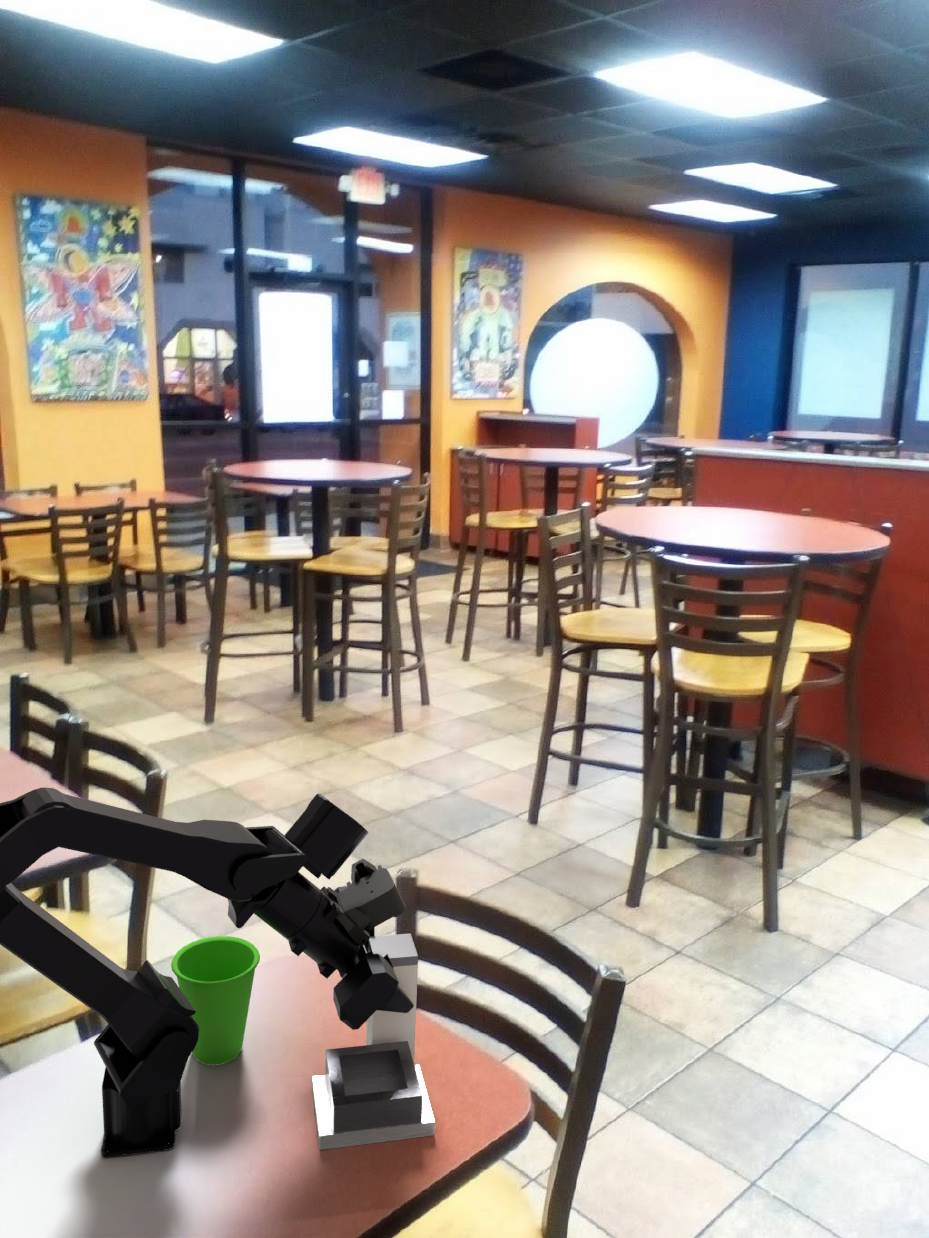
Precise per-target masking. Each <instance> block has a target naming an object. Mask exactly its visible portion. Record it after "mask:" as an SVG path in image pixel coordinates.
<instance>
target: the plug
mask: <svg viewBox="0 0 929 1238" xmlns="http://www.w3.org/2000/svg"><path fill="white" fill-rule="evenodd" d="M368 952H373V953H374V954H379V955H381V956H382V957H383V958H384V957H385V956H386V955H387V954H388V956H389V959H390V961H391V963H392V965H393V968H394V972H395V975H396V977H397V979H398V981H399V984H398V986H399V987H400V988H401V989H402V991H403V992H404V993H405V994H406V995H407V997H408V998H409V999H410V1000H411V1002H412V1003H413V1005H414V1007H413V1008H412V1009H411V1010H410V1011H409V1012H408V1013H400V1012H390V1011H381V1010H376V1011H375V1012H374V1013H373V1014H372V1015H371V1017H370V1018H369V1019H368V1020H367V1021H366V1022H365V1023H366V1025H365V1026H366V1029H365V1030H366V1031H365V1043H366V1044H365V1045H373V1044H383V1043H392V1042H402V1041H408V1044H409V1048H410V1051H411V1055H412V1059H413V1062H414V1063H415V1050H416V1049H415V1047H416V1019H417V1018H416V1017H417V992H418V991H417V989H418V966H419V965H418V963H419V955H418V952H417V948H416V946H415V943H414V940H413V937H412V934H411V933H399V934H389V935H388V934H387V935H375V936H372V937H371V938H370V939H369V940H368Z"/></svg>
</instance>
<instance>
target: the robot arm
mask: <svg viewBox="0 0 929 1238" xmlns="http://www.w3.org/2000/svg"><path fill="white" fill-rule="evenodd" d="M368 834H369V831H368V830H367V829H366V828H365V827H364V826H363V825H362V824H361V823H359V821H357V820H356V819H354V817H352V816H351V815H349V814H348V813H346V812H345V811H344V810H342V809H341V808H340V807H339V806H337V805H336V804H334V803H332V802H331V801H330V800H329V799H327V797H325V796H324V795H322V794H321V793H317V794H315V795H314V797H313V798H312V799H311V800H310V802H309V803H308V804H307V806H306V809H305V810H304V811H303V812H302V814H301V815H300V816H299V817H298V818H297V820H296V821H295V822H294V823H293V824H292V825H291V826H290V827H289V829H288V830H287V832H286V833H285V834H283V832H281V831H280V830H279V829H277V827H275V826H274V825H264V826H248V827H245V826H244V825H243V824H241V823H239V822H237V821H233V820H232V821H231V820H219V819H218V820H214V819H201V820H196V821H190V822H182V821H181V822H180V821H173V820H170V819H166V818H163V817H158V816H154V815H150V814H145V813H141V812H137V811H134V810H129V809H126V808H121V807H118V806H114V805H109V804H105V803H101V802H97V801H94V800H90V799H86V798H82V797H78V796H74V795H70V794H66V793H63V792H62V791H60V790H59V789H56V788H54V787H38V788H35V789H33V790H30V791H28V792H26V793H24V794H22V795H20V796H18V797H16V798H14V799H11V800H6V801H3V802H0V946H1V947H2V948H4V949H6V950H7V951H8V952H9V953H11V954H13V955H14V956H16V957H17V958H18V959H20V960H21V961H23V963H25V964H27V965H28V966H30V967H31V968H32V969H34V970H35V971H37V972H38V973H39V974H41V975H42V976H44V977H45V978H46V979H48V980H50V982H52V983H54V984H55V985H56V986H58V987H59V988H60V989H62V990H64V992H66V993H67V994H69V995H71V996H72V997H73V998H75V999H76V1000H77V1001H79V1002H80V1003H82V1004H83V1005H85V1006H86V1007H87V1008H89V1009H90V1010H92V1011H93V1012H94V1013H96V1014H98V1015H99V1016H100V1017H102V1019H103V1020H104V1021H105V1022H106V1023H107V1025H106V1026H105V1027H104V1028H103V1029H102V1031H101V1032H100V1033H99V1034H98V1036H97V1037H96V1038H95V1039H94V1041H93V1045H94V1047H95V1049H96V1051H97V1052H98V1054H99V1056H100V1058H101V1060H102V1062H103V1064H104V1067H105V1069H104V1073H103V1074H104V1075H103V1079H102V1083H101V1084H102V1085H101V1097H102V1098H101V1100H102V1120H103V1122H102V1123H103V1137H102V1143H101V1149H100V1154H101V1155H100V1156H101V1157H102V1158H112V1157H121V1156H130V1155H136V1154H145V1153H153V1152H154V1153H155V1152H161V1151H169V1150H172V1149H173V1148H175V1143H176V1130H179V1129H180V1128H181V1125H182V1078H183V1075H184V1072H185V1068H186V1066H187V1063H188V1060H189V1057H190V1056H191V1054H193V1050H194V1049H195V1047H196V1044H197V1041H198V1036H199V1032H200V1029H199V1027H198V1024H197V1023H196V1021H195V1020H194V1019H193V1017H192V1015H194V1014H195V1013H196V1011H195V1009H194V1008H193V1007H192V1005H191V1004H190V1002H189V1001H188V1000H187V998H186V997H185V995H184V994H183V993H182V991H181V990H180V988H179V985H178V983H176V981H175V980H174V978H173V977H172V976H169V975H164V974H162V973H161V972H159V971H158V970H157V969H155V967H154V965H152V963H151V962H150V961H149V960H148V959H146V960H145V961H144V962H143V964H142V965H141V966H140V968H139V969H138V971H136V970H129V969H125V968H123V967H121V966H120V965H118V964H117V963H115V962H114V961H113V960H111V959H110V958H109V957H108V956H107V955H105V954H104V953H102V952H101V951H100V950H99V949H97V948H96V947H94V945H92V944H90V943H89V942H88V941H86V940H85V939H84V938H83V937H81V936H80V935H78V934H77V933H76V932H74V931H73V930H72V929H71V928H69V927H68V926H67V925H65V924H64V923H62V921H60V920H59V919H57V918H56V917H55V916H53V915H52V914H51V913H49V912H48V911H46V910H45V909H44V908H43V907H42V906H41V905H39V904H38V903H36V902H35V901H34V900H32V899H31V898H30V897H28V896H27V895H25V894H24V893H23V892H22V891H21V890H20V889H18V888H16V886H15V885H14V884H13V882H14V881H15V880H16V879H18V878H19V877H20V876H21V875H23V873H25V871H27V870H28V869H29V868H30V867H31V866H33V864H35V863H36V862H37V861H38V860H39V859H40V858H41V857H42V856H44V855H46V854H48V853H50V852H52V851H54V850H56V849H57V848H61V849H66V850H70V851H76V852H80V853H84V854H89V855H94V856H99V857H103V858H108V859H113V860H116V861H120V862H122V861H123V862H125V863H131V864H136V865H140V866H145V867H150V868H154V869H158V870H164V871H169V872H172V873H175V874H178V875H180V876H182V877H185V878H186V879H188V880H190V881H191V882H193V883H195V884H196V885H199V886H200V887H201V888H203V889H205V890H207V891H210V892H212V893H213V894H217V895H218V896H221V897H223V898H225V899H227V901H228V902H227V903H228V905H227V907H228V909H227V916H228V918H229V919H230V921H231V922H232V923H233V925H234V926H235V928H237V929H242V928H243V927H244V926H245V924H246V923H247V922H248V921H249V920H250V919H251V917H252V916H253V915H255V916H256V917H257V918H259V919H260V920H261V921H263V922H264V923H266V925H268V926H269V927H270V928H272V929H273V930H274V931H276V932H277V933H278V934H279V935H281V936H282V937H283V938H284V939H286V940H287V941H288V945H289V947H290V948H289V949H290V952H292V953H293V954H294V955H296V956H297V957H299V956H301V954H302V953H304V954H305V955H306V956H307V957H308V958H310V959H311V960H312V961H314V962H315V963H316V965H317V969H318V971H319V973H320V975H321V976H323V977H324V978H325V979H327V980H328V979H329V978H330V976H332V975H333V974H334V973H335V972H336V971H338V973H339V976H340V978H341V979H340V980H339V982H338V983H337V984H336V985H334V986H333V989H332V990H333V995H332V996H333V999H332V1000H333V1003H334V1006H335V1009H336V1013H337V1015H338V1017H339V1021H341V1023H343V1024H345V1025H346V1026H348V1027H349V1028H350V1029H351V1030H352V1031H355V1030H359V1029H360V1028H361V1027H362V1026H363V1025H364V1024H365V1023H366V1022H367V1020H368V1019H369V1018H370V1017H371V1015H372V1014H373V1013H374V1012H375V1011H376V1010H381V1011H390V1012H400V1013H408V1012H409V1011H410V1010H411V1009H412V1008H413V1007H414V1005H413V1003H412V1002H411V1000H410V999H409V998H408V997H407V995H406V994H405V993H404V992H403V991H402V989H401V988H400V987H399V986H398V984H399V981H398V979H397V977H396V975H395V972H394V968H393V965H392V963H391V961H390V959H389V956H388V954H387V955H386V956H385V957H384V958H383V957H382V956H381V955H379V954H374V953H373V952H368V940H369V939H370V938H371V937H372V936H376V933H375V932H376V931H375V927H378V926H379V925H381V924H383V923H384V922H387V921H388V920H390V919H392V918H398V917H400V916H401V915H402V914H404V912H405V911H406V908H407V906H406V904H405V902H404V899H403V898H402V896H401V893H400V892H399V889H398V887H397V886H396V883H395V882H394V879H393V877H392V875H391V874H390V872H389V871H390V870H388V869H387V868H384V867H383V866H382V865H381V864H379V865H377V866H375V865H374V864H373V863H372V862H370V861H368V860H367V859H365V858H361V859H359V860H357V861H356V862H354V863H352V864H351V868H350V869H351V873H350V880H351V881H347V882H346V885H345V886H338V887H336V888H335V889H333V888H332V887H330V886H327V887H326V886H325V885H324V886H323V887H321V888H319V887H318V886H317V885H315V884H314V883H313V882H312V881H311V880H309V879H308V878H307V877H306V876H304V875H303V874H302V873H301V872H300V871H301V869H302V868H305V870H307V871H308V872H309V873H310V874H311V875H313V876H314V877H315V878H316V879H320V877H321V876H324V877H325V878H326V879H327V880H331V878H332V877H334V876H335V875H336V874H337V873H338V871H339V870H340V868H342V866H344V864H345V863H346V862H347V860H348V859H349V857H350V856H351V855H353V853H354V851H355V850H356V849H357V847H358V846H359V845H360V844H361V843H362V842H363V840H365V838H366V836H367V835H368Z"/></svg>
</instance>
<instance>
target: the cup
mask: <svg viewBox="0 0 929 1238" xmlns="http://www.w3.org/2000/svg"><path fill="white" fill-rule="evenodd" d="M260 958H261V955H260V952H259V949H258V948H257V947H256V946H255V945H254V944H253V943H251V941H248V940H247V939H243V938H240V937H235V936H228V935H226V936H225V935H224V936H223V935H219V936H217V935H216V936H209V937H204V938H199V939H197V940H194V941H192V942H190V943H187V944H186V945H184V946H183V947H182V948H180V949H179V950H177V952H175V954H174V956H173V957H172V960H171V963H170V966H171V971H172V972H173V973H174V975H175V976H176V980H177V985H178V987H179V988H180V990H181V991H182V993H183V994H184V995H185V997H186V998H187V1000H188V1001H189V1002H190V1004H191V1005H192V1007H193V1008H194V1009H195V1011H196V1013H195V1014H194V1015H192V1017H193V1019H194V1020H195V1021H196V1023H197V1024H198V1027H199V1029H200V1032H199V1036H198V1041H197V1044H196V1047H195V1049H194V1050H193V1052H192V1055H193V1057H194V1058H195V1059H196V1060H197V1061H198V1062H199V1063H201V1064H203V1065H208V1066H219V1065H223V1064H227V1063H229V1062H233V1060H234V1059H236V1058H237V1057H238V1056H239V1054H240V1052H241V1050H242V1049H243V1045H244V1039H245V1034H246V1033H245V1032H246V1026H247V1020H248V1014H249V1009H250V1001H251V996H252V989H253V986H254V985H253V983H254V977H255V970H256V968H257V967H258V965H259V963H260V960H261V959H260Z"/></svg>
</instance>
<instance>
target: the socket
mask: <svg viewBox="0 0 929 1238" xmlns="http://www.w3.org/2000/svg"><path fill="white" fill-rule="evenodd" d="M312 1096H313V1105H314V1113H315V1122H316V1131H317V1138H318V1146H319V1147H318V1149H319V1150H320V1151H322V1150H323V1151H324V1150H329V1149H330V1150H331V1149H336V1148H337V1149H338V1148H347V1147H355V1146H362V1145H368V1144H377V1143H386V1142H392V1141H393V1142H394V1141H401V1140H407V1139H410V1140H411V1139H417V1138H423V1137H424V1138H425V1137H432V1136H435V1133H436V1132H435V1130H436V1119H435V1117H434V1113H433V1110H432V1106H431V1103H430V1099H429V1095H428V1091H427V1088H426V1084H425V1081H424V1077H423V1074H422V1071H421V1066H420V1064H415V1061H414V1062H413V1059H412V1055H411V1051H410V1048H409V1044H408V1041H402V1042H392V1043H383V1044H373V1045H367V1044H365V1045H358V1046H357V1045H356V1046H355V1045H354V1046H348V1047H347V1046H346V1047H337V1048H327V1049H325V1074H322V1075H321V1074H320V1075H312Z"/></svg>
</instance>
